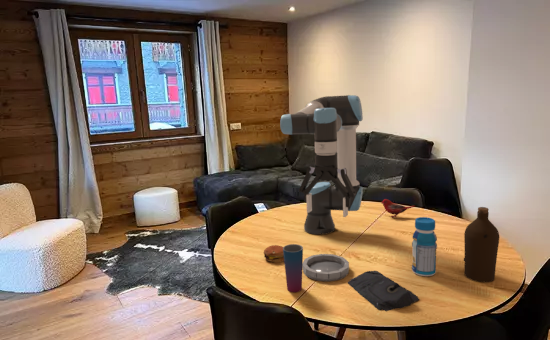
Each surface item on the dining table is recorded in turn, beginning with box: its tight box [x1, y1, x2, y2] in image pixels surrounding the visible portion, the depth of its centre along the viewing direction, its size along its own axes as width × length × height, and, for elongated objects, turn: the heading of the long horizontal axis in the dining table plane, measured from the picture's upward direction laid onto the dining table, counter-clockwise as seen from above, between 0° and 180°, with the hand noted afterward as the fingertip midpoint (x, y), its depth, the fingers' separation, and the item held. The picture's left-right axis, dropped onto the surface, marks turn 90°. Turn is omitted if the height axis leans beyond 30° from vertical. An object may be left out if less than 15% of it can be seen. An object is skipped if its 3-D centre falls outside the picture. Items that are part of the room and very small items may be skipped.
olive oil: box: [463, 206, 500, 283], centre depth 131 cm, size 11×11×25 cm
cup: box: [282, 243, 304, 293], centre depth 129 cm, size 7×7×15 cm
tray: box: [302, 253, 350, 282], centre depth 142 cm, size 17×17×3 cm
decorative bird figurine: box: [380, 198, 416, 218], centre depth 199 cm, size 3×18×10 cm, turn 82°
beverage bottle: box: [411, 216, 438, 277], centre depth 136 cm, size 8×8×20 cm
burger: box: [263, 244, 284, 264], centre depth 156 cm, size 10×9×5 cm
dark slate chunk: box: [347, 270, 420, 312], centre depth 125 cm, size 15×22×5 cm
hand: (327, 213), depth 132 cm, fingers open, 13 cm apart
